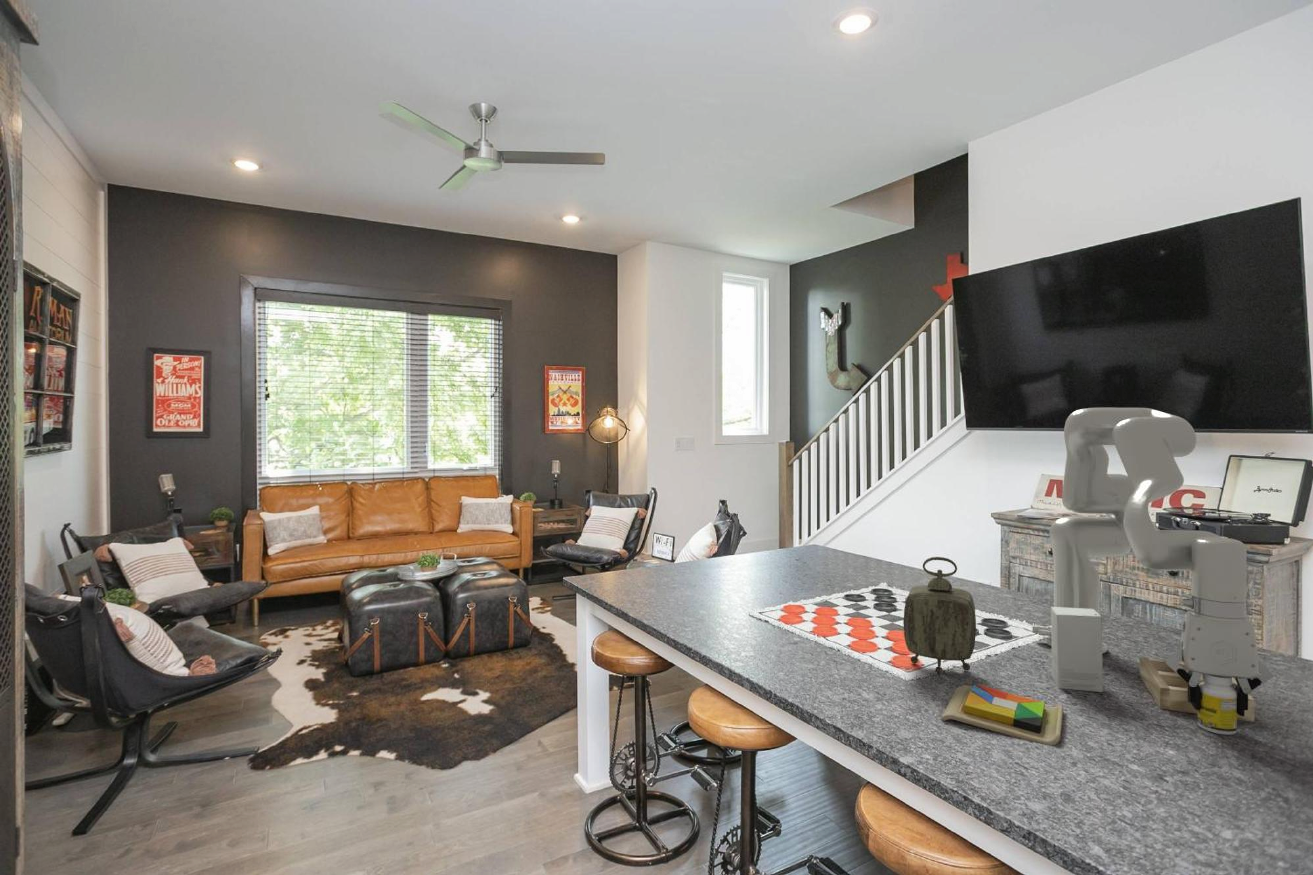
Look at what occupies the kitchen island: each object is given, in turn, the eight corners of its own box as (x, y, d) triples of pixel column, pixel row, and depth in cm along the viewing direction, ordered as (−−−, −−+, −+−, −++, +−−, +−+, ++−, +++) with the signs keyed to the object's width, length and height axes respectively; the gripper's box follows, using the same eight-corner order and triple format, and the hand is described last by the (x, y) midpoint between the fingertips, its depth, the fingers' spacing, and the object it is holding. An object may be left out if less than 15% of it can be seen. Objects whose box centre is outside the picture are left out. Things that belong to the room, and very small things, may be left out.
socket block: (1160, 708, 130) (1160, 685, 130) (1139, 675, 147) (1139, 655, 147) (1254, 721, 124) (1254, 698, 124) (1221, 686, 141) (1221, 665, 141)
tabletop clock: (975, 669, 151) (976, 556, 151) (975, 683, 143) (976, 563, 142) (906, 660, 157) (906, 551, 157) (902, 673, 149) (902, 558, 149)
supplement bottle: (1189, 722, 124) (1190, 668, 124) (1220, 722, 124) (1221, 668, 124) (1213, 735, 118) (1213, 679, 118) (1245, 736, 118) (1245, 679, 118)
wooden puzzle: (1060, 750, 114) (1060, 729, 114) (939, 724, 124) (939, 705, 124) (1063, 713, 129) (1063, 695, 129) (955, 693, 139) (955, 675, 139)
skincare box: (1095, 682, 143) (1095, 608, 143) (1104, 694, 137) (1104, 616, 137) (1049, 677, 146) (1050, 605, 146) (1056, 689, 140) (1057, 613, 139)
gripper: (1163, 607, 121) (1162, 709, 121) (1289, 619, 114) (1288, 727, 114) (1154, 598, 128) (1153, 694, 128) (1272, 608, 120) (1271, 710, 121)
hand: (1217, 709), depth 121 cm, fingers closed on supplement bottle, 5 cm apart
